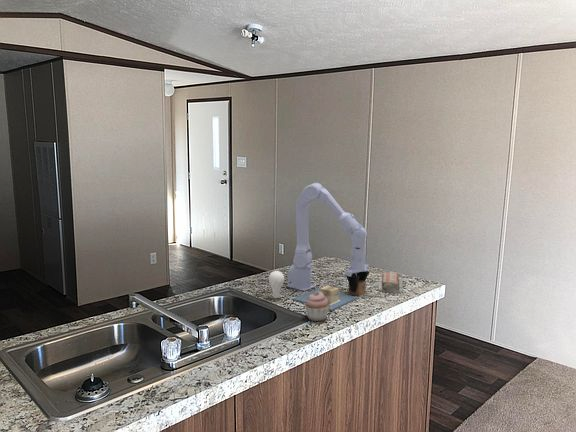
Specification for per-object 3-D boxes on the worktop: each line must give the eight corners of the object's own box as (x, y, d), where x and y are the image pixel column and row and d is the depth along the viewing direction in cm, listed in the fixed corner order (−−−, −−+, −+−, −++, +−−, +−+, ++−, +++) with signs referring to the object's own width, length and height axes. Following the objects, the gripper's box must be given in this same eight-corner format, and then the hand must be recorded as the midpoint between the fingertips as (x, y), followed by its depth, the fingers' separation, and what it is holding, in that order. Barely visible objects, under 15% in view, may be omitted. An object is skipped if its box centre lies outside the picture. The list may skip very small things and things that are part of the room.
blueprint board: (293, 300, 185) (293, 298, 185) (320, 289, 199) (320, 287, 199) (331, 311, 174) (331, 309, 174) (357, 298, 188) (357, 297, 187)
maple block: (320, 301, 182) (320, 288, 182) (327, 297, 186) (327, 285, 185) (330, 304, 179) (331, 291, 178) (338, 300, 183) (338, 288, 182)
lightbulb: (274, 294, 191) (275, 268, 189) (287, 298, 187) (287, 270, 186) (265, 298, 186) (265, 271, 184) (277, 302, 182) (278, 274, 181)
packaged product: (403, 283, 195) (378, 281, 197) (403, 294, 195) (378, 292, 197) (403, 271, 212) (380, 269, 214) (402, 281, 213) (379, 280, 215)
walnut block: (348, 293, 194) (348, 281, 194) (354, 290, 198) (355, 278, 197) (358, 295, 191) (359, 283, 190) (365, 292, 195) (365, 281, 194)
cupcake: (298, 318, 167) (298, 290, 165) (314, 311, 174) (315, 284, 172) (319, 325, 161) (320, 297, 159) (335, 317, 167) (336, 290, 166)
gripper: (357, 262, 184) (355, 296, 186) (376, 255, 195) (374, 287, 197) (341, 259, 189) (340, 292, 191) (361, 252, 200) (359, 284, 202)
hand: (356, 289), depth 194 cm, fingers closed on walnut block, 5 cm apart
